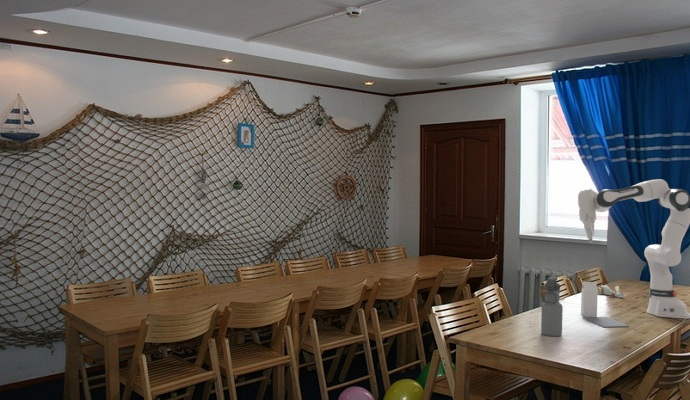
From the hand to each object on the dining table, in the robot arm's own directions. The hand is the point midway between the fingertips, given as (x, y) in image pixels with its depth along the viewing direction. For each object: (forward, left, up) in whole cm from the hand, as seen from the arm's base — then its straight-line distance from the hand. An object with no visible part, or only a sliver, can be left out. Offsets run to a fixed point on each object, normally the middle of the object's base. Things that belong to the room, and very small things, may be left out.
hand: (590, 240), depth 339 cm
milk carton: (-1, +5, -42) cm, 42 cm away
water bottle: (+8, +58, -42) cm, 72 cm away
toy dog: (-3, -65, -42) cm, 78 cm away
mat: (-11, +17, -42) cm, 46 cm away
